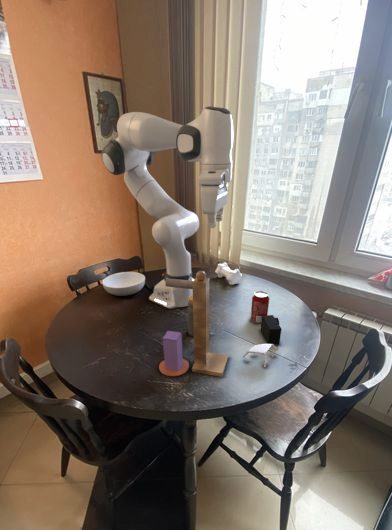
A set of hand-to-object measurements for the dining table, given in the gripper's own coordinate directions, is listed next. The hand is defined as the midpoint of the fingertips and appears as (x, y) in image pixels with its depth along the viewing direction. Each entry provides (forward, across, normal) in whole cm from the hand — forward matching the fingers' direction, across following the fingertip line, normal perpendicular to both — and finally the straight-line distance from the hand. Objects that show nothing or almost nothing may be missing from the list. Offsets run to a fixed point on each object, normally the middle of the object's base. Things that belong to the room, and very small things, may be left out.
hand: (215, 224), depth 96 cm
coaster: (+41, +23, -8) cm, 48 cm away
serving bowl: (+41, -28, -53) cm, 72 cm away
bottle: (+41, +1, -7) cm, 42 cm away
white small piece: (+41, +12, +20) cm, 47 cm away
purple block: (+35, +23, -11) cm, 43 cm away
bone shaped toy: (+41, -54, -5) cm, 68 cm away
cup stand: (+41, +19, -1) cm, 45 cm away
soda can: (+41, -15, +15) cm, 46 cm away
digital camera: (+41, -3, +21) cm, 47 cm away
